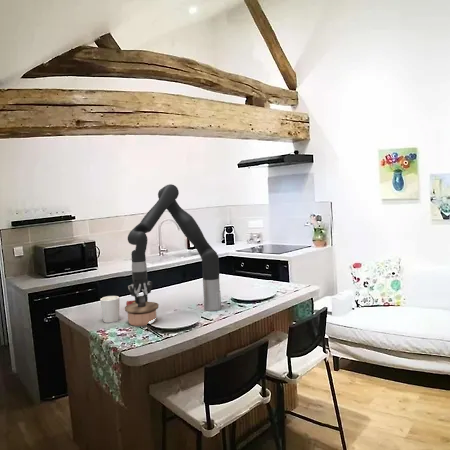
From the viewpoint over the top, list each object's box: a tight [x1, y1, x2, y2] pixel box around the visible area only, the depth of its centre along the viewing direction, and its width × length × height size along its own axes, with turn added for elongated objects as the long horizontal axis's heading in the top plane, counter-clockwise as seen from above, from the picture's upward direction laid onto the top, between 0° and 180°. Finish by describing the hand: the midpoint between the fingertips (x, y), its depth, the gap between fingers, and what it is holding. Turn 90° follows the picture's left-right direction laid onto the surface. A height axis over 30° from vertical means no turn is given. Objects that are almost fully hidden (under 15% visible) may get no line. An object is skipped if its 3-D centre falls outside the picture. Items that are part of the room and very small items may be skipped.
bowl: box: [127, 309, 157, 327], centre depth 230 cm, size 14×14×6 cm
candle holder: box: [99, 295, 120, 324], centre depth 235 cm, size 10×10×12 cm
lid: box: [124, 295, 159, 313], centre depth 230 cm, size 17×17×6 cm
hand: (141, 302), depth 230 cm, fingers closed on lid, 4 cm apart
